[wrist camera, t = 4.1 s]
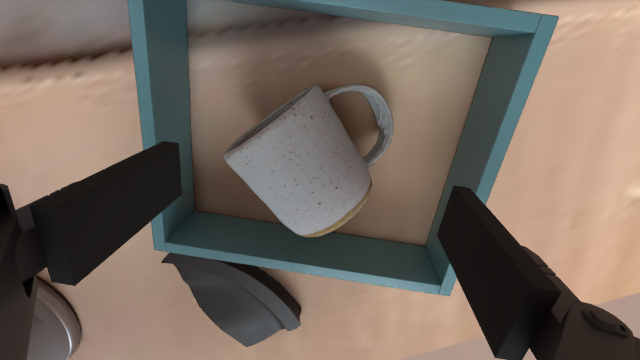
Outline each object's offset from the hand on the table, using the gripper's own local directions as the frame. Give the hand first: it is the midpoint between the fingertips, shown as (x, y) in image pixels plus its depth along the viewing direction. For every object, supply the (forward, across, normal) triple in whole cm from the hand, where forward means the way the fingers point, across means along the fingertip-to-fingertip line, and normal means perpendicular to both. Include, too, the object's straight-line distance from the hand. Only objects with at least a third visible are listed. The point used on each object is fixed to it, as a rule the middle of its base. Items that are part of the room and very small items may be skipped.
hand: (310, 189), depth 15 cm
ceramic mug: (+10, 0, 0) cm, 10 cm away
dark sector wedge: (+10, -6, -17) cm, 21 cm away
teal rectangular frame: (+10, 0, 0) cm, 10 cm away
